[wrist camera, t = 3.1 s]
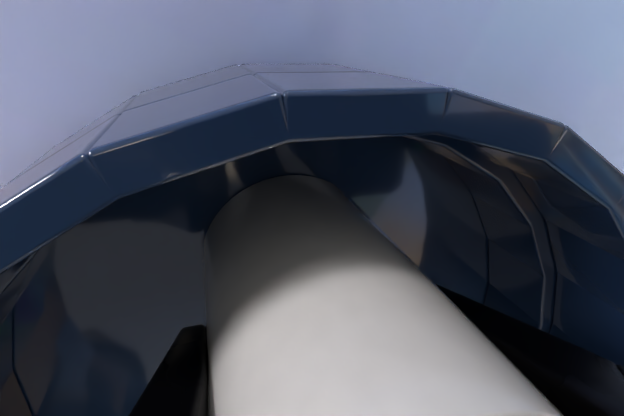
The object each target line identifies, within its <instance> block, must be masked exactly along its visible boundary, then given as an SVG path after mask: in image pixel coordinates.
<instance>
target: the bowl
mask: <svg viewBox="0 0 624 416" xmlns="http://www.w3.org/2000/svg"><path fill="white" fill-rule="evenodd" d="M286 175H303V176H311V177H315V178H319V179H322V180H325V181H327V182H330V183H332V184H334V185H335V186H337V187H339V188H340V189H341V190H343V191H344V192H345V193H346V194H348V195H349V196H350V197H351V198H352V200H353V201H354V202H355V203H356V204H357V205H358V206H359V207H360V208H361V209H362V210H363V211H364V212H365V213H366V214H367V215H368V216H369V217H370V218H371V219H372V220H373V221H374V222H375V223H376V224H377V225H378V226H379V227H380V228H381V229H382V230H383V231H384V232H385V233H386V234H387V235H388V236H389V237H390V238H391V239H392V240H393V241H394V242H395V243H396V244H397V245H398V247H399V248H400V249H401V250H402V251H403V252H404V253H405V254H406V255H407V256H408V257H409V258H410V259H411V260H412V261H413V262H414V263H415V264H416V265H417V266H418V267H419V268H420V269H421V270H422V271H423V272H424V273H425V274H426V275H427V276H428V277H429V278H430V279H431V280H432V281H433V282H434V283H435V284H438V285H440V286H442V287H445V288H447V289H449V290H451V291H454V292H456V293H458V294H460V295H463V296H465V297H467V298H469V299H472V300H474V301H476V302H479V303H481V304H483V305H485V306H488V307H490V308H492V309H494V310H497V311H499V312H501V313H503V314H506V315H508V316H510V317H513V318H515V319H517V320H519V321H522V322H524V323H526V324H528V325H531V326H533V327H535V328H538V329H540V330H542V331H544V332H547V333H549V334H551V335H553V336H556V337H558V338H560V339H562V340H565V341H567V342H569V343H572V344H574V345H576V346H578V347H581V348H583V349H585V350H587V351H590V352H592V353H594V354H596V355H599V356H601V357H603V358H606V359H608V360H610V361H612V362H614V363H615V365H617V364H619V365H622V366H624V174H622V173H621V172H620V171H619V170H618V169H617V168H616V167H614V166H613V165H612V164H611V163H610V162H609V161H608V160H606V159H605V158H604V157H603V156H602V155H601V154H599V153H598V152H597V151H596V150H595V149H594V148H593V147H591V146H590V145H589V144H588V143H587V142H586V141H584V140H583V139H582V138H581V137H580V136H579V135H578V134H576V133H575V132H574V131H573V130H572V129H571V128H569V127H568V126H566V125H564V124H563V123H561V122H559V121H555V120H552V119H549V118H546V117H543V116H540V115H537V114H533V113H530V112H527V111H524V110H521V109H518V108H515V107H511V106H508V105H505V104H502V103H499V102H496V101H492V100H489V99H486V98H483V97H480V96H477V95H474V94H470V93H467V92H464V91H461V90H458V89H455V88H451V87H446V86H441V85H436V84H431V83H426V82H421V81H416V80H411V79H406V78H401V77H396V76H391V75H386V74H381V73H375V72H370V71H365V70H360V69H355V68H350V67H345V66H340V65H332V64H242V65H240V66H238V65H232V66H229V67H225V68H222V69H218V70H215V71H212V72H208V73H205V74H201V75H198V76H194V77H191V78H187V79H184V80H181V81H177V82H174V83H170V84H167V85H163V86H160V87H157V88H153V89H150V90H146V91H143V92H141V93H140V94H139V95H135V96H133V97H131V98H130V99H128V100H126V101H125V102H123V103H122V104H120V105H119V106H117V107H115V108H114V109H112V110H111V111H109V112H108V113H106V114H104V115H103V116H101V117H100V118H98V119H97V120H95V121H93V122H92V123H90V124H89V125H87V126H85V127H84V128H82V129H81V130H79V131H78V132H76V133H74V134H73V135H71V136H70V137H68V138H67V139H65V140H63V141H62V142H60V143H59V144H57V145H56V146H54V147H53V148H51V149H50V150H49V151H48V152H46V153H45V154H44V155H43V156H41V157H40V158H39V159H38V160H36V161H35V162H34V163H33V164H31V165H30V166H29V167H28V168H26V169H25V170H24V171H23V172H21V173H20V174H19V175H18V176H16V177H15V178H14V179H13V180H11V181H10V182H9V183H8V184H7V185H5V186H4V187H2V188H1V189H0V416H129V414H130V413H131V411H132V409H133V408H134V406H135V405H136V403H137V401H138V400H139V398H140V396H141V395H142V393H143V391H144V390H145V388H146V386H147V385H148V383H149V382H150V380H151V378H152V377H153V375H154V373H155V372H156V370H157V368H158V367H159V365H160V363H161V362H162V360H163V359H164V357H165V355H166V354H167V352H168V350H169V349H170V347H171V345H172V344H173V342H174V341H175V339H176V337H177V336H178V334H179V332H180V331H181V329H183V328H184V327H189V326H195V325H200V324H202V325H204V308H203V283H202V258H201V256H202V247H203V243H204V239H205V236H206V233H207V231H208V229H209V226H210V224H211V223H212V221H213V220H214V218H215V216H216V215H217V214H218V212H219V211H220V210H221V209H222V207H223V206H224V205H225V204H226V203H228V202H229V201H230V200H231V199H232V198H233V197H234V196H236V195H237V194H238V193H240V192H241V191H243V190H244V189H246V188H248V187H250V186H252V185H254V184H256V183H259V182H261V181H263V180H267V179H270V178H274V177H279V176H286Z"/></svg>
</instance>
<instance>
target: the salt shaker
mask: <svg viewBox="0 0 624 416" xmlns="http://www.w3.org/2000/svg"><path fill="white" fill-rule="evenodd" d="M201 258H202V283H203V308H204V326H205V336H206V358H207V386H208V394H207V406H208V416H564V415H563V414H562V413H561V412H560V411H559V410H558V409H557V408H556V407H555V406H554V405H553V404H552V403H551V402H550V401H549V400H548V399H547V398H546V397H545V396H544V395H543V394H542V393H541V392H540V391H539V390H538V389H537V388H536V387H535V385H534V384H533V383H532V382H531V381H530V380H529V379H528V378H527V377H526V376H525V375H524V374H523V373H522V372H521V371H520V370H519V369H518V368H517V367H516V366H515V365H514V364H513V363H512V362H511V361H510V360H509V359H508V358H507V357H506V356H505V355H504V354H503V353H502V352H501V351H500V350H499V349H498V348H497V347H496V346H495V345H494V344H493V343H492V342H491V341H490V340H489V338H488V337H487V336H486V335H485V334H484V333H483V332H482V331H481V330H480V329H479V328H478V327H477V326H476V325H475V324H474V323H473V322H472V321H471V320H470V319H469V318H468V317H467V316H466V315H465V314H464V313H463V312H462V311H461V310H460V309H459V308H458V307H457V306H456V305H455V304H454V303H453V302H452V301H451V300H450V299H449V298H448V297H447V296H446V295H445V294H444V293H443V291H442V290H441V289H440V288H439V287H438V286H437V285H436V284H435V283H434V282H433V281H432V280H431V279H430V278H429V277H428V276H427V275H426V274H425V273H424V272H423V271H422V270H421V269H420V268H419V267H418V266H417V265H416V264H415V263H414V262H413V261H412V260H411V259H410V258H409V257H408V256H407V255H406V254H405V253H404V252H403V251H402V250H401V249H400V248H399V247H398V245H397V244H396V243H395V242H394V241H393V240H392V239H391V238H390V237H389V236H388V235H387V234H386V233H385V232H384V231H383V230H382V229H381V228H380V227H379V226H378V225H377V224H376V223H375V222H374V221H373V220H372V219H371V218H370V217H369V216H368V215H367V214H366V213H365V212H364V211H363V210H362V209H361V208H360V207H359V206H358V205H357V204H356V203H355V202H354V201H353V200H352V198H351V197H350V196H349V195H348V194H346V193H345V192H344V191H343V190H341V189H340V188H339V187H337V186H335V185H334V184H332V183H330V182H327V181H325V180H322V179H319V178H315V177H311V176H303V175H286V176H279V177H274V178H270V179H267V180H263V181H261V182H259V183H256V184H254V185H252V186H250V187H248V188H246V189H244V190H243V191H241V192H240V193H238V194H237V195H236V196H234V197H233V198H232V199H231V200H230V201H229V202H228V203H226V204H225V205H224V206H223V207H222V209H221V210H220V211H219V212H218V214H217V215H216V216H215V218H214V220H213V221H212V223H211V224H210V226H209V229H208V231H207V233H206V236H205V239H204V243H203V247H202V256H201Z"/></svg>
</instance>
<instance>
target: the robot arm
mask: <svg viewBox="0 0 624 416" xmlns="http://www.w3.org/2000/svg"><path fill="white" fill-rule="evenodd" d="M436 285H437V286H438V287H439V288H440V289H441V290H442V291H443V293H444V294H445V295H446V296H447V297H448V298H449V299H450V300H451V301H452V302H453V303H454V304H455V305H456V306H457V307H458V308H459V309H460V310H461V311H462V312H463V313H464V314H465V315H466V316H467V317H468V318H469V319H470V320H471V321H472V322H473V323H474V324H475V325H476V326H477V327H478V328H479V329H480V330H481V331H482V332H483V333H484V334H485V335H486V336H487V337H488V338H489V340H490V341H491V342H492V343H493V344H494V345H495V346H496V347H497V348H498V349H499V350H500V351H501V352H502V353H503V354H504V355H505V356H506V357H507V358H508V359H509V360H510V361H511V362H512V363H513V364H514V365H515V366H516V367H517V368H518V369H519V370H520V371H521V372H522V373H523V374H524V375H525V376H526V377H527V378H528V379H529V380H530V381H531V382H532V383H533V384H534V385H535V387H536V388H537V389H538V390H539V391H540V392H541V393H542V394H543V395H544V396H545V397H546V398H547V399H548V400H549V401H550V402H551V403H552V404H553V405H554V406H555V407H556V408H557V409H558V410H559V411H560V412H561V413H562V414H563V415H564V416H624V366H622V365H619V364H617V365H615V363H614V362H612V361H610V360H608V359H606V358H603V357H601V356H599V355H596V354H594V353H592V352H590V351H587V350H585V349H583V348H581V347H578V346H576V345H574V344H572V343H569V342H567V341H565V340H562V339H560V338H558V337H556V336H553V335H551V334H549V333H547V332H544V331H542V330H540V329H538V328H535V327H533V326H531V325H528V324H526V323H524V322H522V321H519V320H517V319H515V318H513V317H510V316H508V315H506V314H503V313H501V312H499V311H497V310H494V309H492V308H490V307H488V306H485V305H483V304H481V303H479V302H476V301H474V300H472V299H469V298H467V297H465V296H463V295H460V294H458V293H456V292H454V291H451V290H449V289H447V288H445V287H442V286H440V285H438V284H436ZM207 394H208V386H207V358H206V336H205V326H204V325H202V324H200V325H195V326H189V327H184V328H183V329H181V331H180V332H179V334H178V336H177V337H176V339H175V341H174V342H173V344H172V345H171V347H170V349H169V350H168V352H167V354H166V355H165V357H164V359H163V360H162V362H161V363H160V365H159V367H158V368H157V370H156V372H155V373H154V375H153V377H152V378H151V380H150V382H149V383H148V385H147V386H146V388H145V390H144V391H143V393H142V395H141V396H140V398H139V400H138V401H137V403H136V405H135V406H134V408H133V409H132V411H131V413H130V414H129V416H208V406H207Z"/></svg>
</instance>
